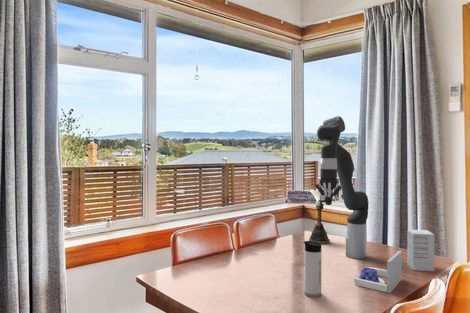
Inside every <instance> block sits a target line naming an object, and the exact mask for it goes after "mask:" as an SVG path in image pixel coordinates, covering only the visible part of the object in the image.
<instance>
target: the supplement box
mask: <svg viewBox="0 0 470 313" xmlns="http://www.w3.org/2000/svg"><path fill="white" fill-rule="evenodd" d="M406 264H407V265H408V266H409V267H410V269H411V270H412V271H422V272H435V234H434V233H433V232H431V231H430V230H427V229H407V262H406Z"/></svg>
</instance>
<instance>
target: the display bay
mask: <svg viewBox="0 0 470 313" xmlns="http://www.w3.org/2000/svg"><path fill="white" fill-rule="evenodd" d="M367 268H372V269H374V270H376V271H377V274H378V277H379V276H380V277H386V284H381V283H380V282H379V283H377V282H372V281H368V280H363V279H359V278H355V277H354V278H355V280H354V286H359V287H362V288H367V289H371V290H375V291H379V292H383V293H388V294H391V293H392V291H394V289H395V288H396V287H397V286H398V284H399V283H400V282H401V281H402V280H403V271H402V270H403V250H398V251H397V252H395V254H393V255H392V256H391V257H390V258H389V259H388V260H387V262H386V269H382V268H377V267H370V266H368V267H367Z"/></svg>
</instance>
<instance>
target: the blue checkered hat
mask: <svg viewBox="0 0 470 313" xmlns="http://www.w3.org/2000/svg"><path fill="white" fill-rule="evenodd" d="M372 268H373V267H372ZM372 268H368V267H364V268H362V269H361V270H360V274H359V275H357V276H354V277H353V280H354V281H355V278H359V279H363V280H368V281H372V282H377V283H381V284H385V283H386V282H385V281H384V280H383V279H382V278H380V277H379V275H378V274H377V271H376V270H374V269H372ZM379 281H380V282H379Z"/></svg>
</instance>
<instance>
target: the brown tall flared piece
mask: <svg viewBox="0 0 470 313" xmlns="http://www.w3.org/2000/svg"><path fill="white" fill-rule="evenodd" d="M322 189H323V190H324V188H322ZM309 191H310V193H311V194H312V196H314V199H315V200H316V201H315V204H314V205H315V210H316V212H317V214H316V215H317V216H316V218H317V220H316V221H317V222H316V223H315V224H314V228H313V229H312V231H311V235H310V236H309V238H308V241H313V242H318V243H320V244H321V245H328V244H329V243H331V239H329V236H328V232H327V230H326V229H325V227H324V224H323V223H322V217H323V216H322V211H323V209H324V205H325V196H323V195H321V194H320V192H319V191H318V189H317V188H316V190H315V189H313V188H310V189H309ZM335 200H336V199H335V198H332V202H334V203H336V202H335Z"/></svg>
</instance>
